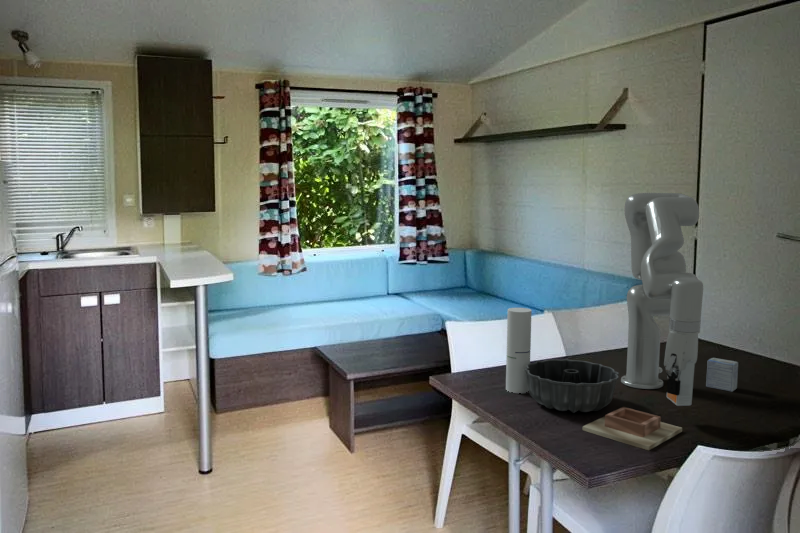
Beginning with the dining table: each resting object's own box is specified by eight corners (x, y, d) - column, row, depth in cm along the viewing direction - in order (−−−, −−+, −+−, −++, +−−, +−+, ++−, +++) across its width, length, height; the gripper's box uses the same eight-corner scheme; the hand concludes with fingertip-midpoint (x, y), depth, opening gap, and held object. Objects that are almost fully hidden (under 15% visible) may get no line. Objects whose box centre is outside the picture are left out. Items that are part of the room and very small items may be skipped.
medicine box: (737, 389, 211) (739, 361, 210) (732, 392, 208) (734, 364, 206) (710, 383, 216) (712, 357, 215) (705, 386, 213) (707, 359, 212)
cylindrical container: (529, 394, 205) (531, 312, 202) (505, 392, 207) (507, 311, 203) (529, 387, 212) (531, 308, 209) (506, 385, 214) (508, 307, 210)
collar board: (617, 413, 188) (618, 399, 188) (682, 431, 175) (682, 416, 175) (582, 430, 176) (583, 415, 176) (648, 450, 163) (649, 434, 163)
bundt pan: (541, 384, 215) (542, 353, 214) (627, 398, 202) (628, 365, 200) (510, 408, 193) (510, 374, 191) (604, 426, 179) (605, 389, 178)
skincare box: (665, 397, 184) (668, 355, 182) (680, 397, 185) (684, 354, 183) (676, 406, 178) (679, 362, 176) (692, 405, 179) (695, 362, 177)
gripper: (685, 316, 186) (680, 379, 190) (655, 328, 175) (650, 394, 178) (713, 322, 181) (707, 386, 184) (683, 334, 169) (678, 402, 173)
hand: (679, 389), depth 181 cm, fingers closed on skincare box, 6 cm apart
